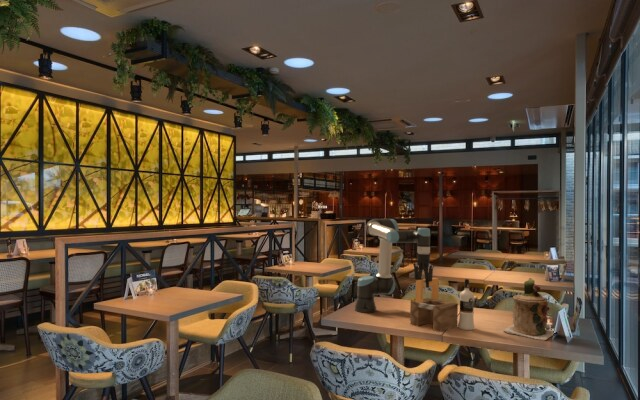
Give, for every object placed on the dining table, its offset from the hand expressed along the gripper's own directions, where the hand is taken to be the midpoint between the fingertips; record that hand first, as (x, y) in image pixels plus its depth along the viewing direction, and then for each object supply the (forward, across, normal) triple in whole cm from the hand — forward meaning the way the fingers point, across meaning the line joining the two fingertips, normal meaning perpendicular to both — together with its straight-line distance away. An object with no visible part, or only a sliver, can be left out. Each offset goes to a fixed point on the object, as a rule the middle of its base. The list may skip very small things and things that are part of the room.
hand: (423, 292), depth 278 cm
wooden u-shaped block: (+6, 0, +4) cm, 7 cm away
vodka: (+22, +17, +21) cm, 35 cm away
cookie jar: (+22, +46, +43) cm, 67 cm away
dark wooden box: (+22, 0, +12) cm, 25 cm away
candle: (+22, -24, +29) cm, 44 cm away
